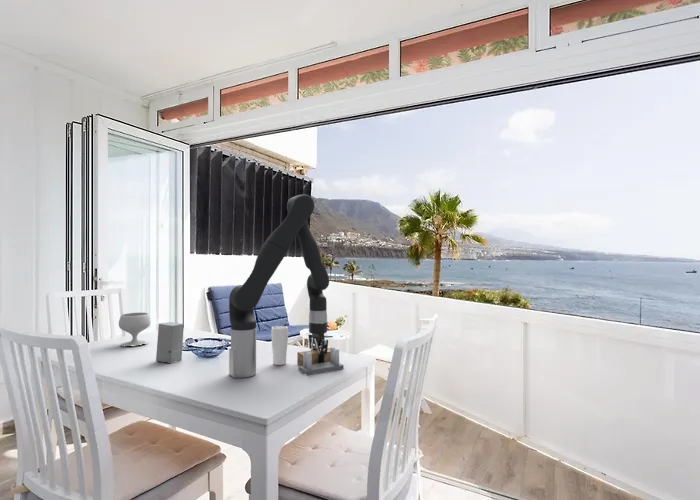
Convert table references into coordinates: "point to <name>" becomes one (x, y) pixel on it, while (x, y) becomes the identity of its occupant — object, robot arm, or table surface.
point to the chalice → (134, 326)
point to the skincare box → (169, 342)
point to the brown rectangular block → (314, 357)
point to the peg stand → (320, 367)
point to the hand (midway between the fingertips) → (317, 361)
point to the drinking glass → (279, 344)
